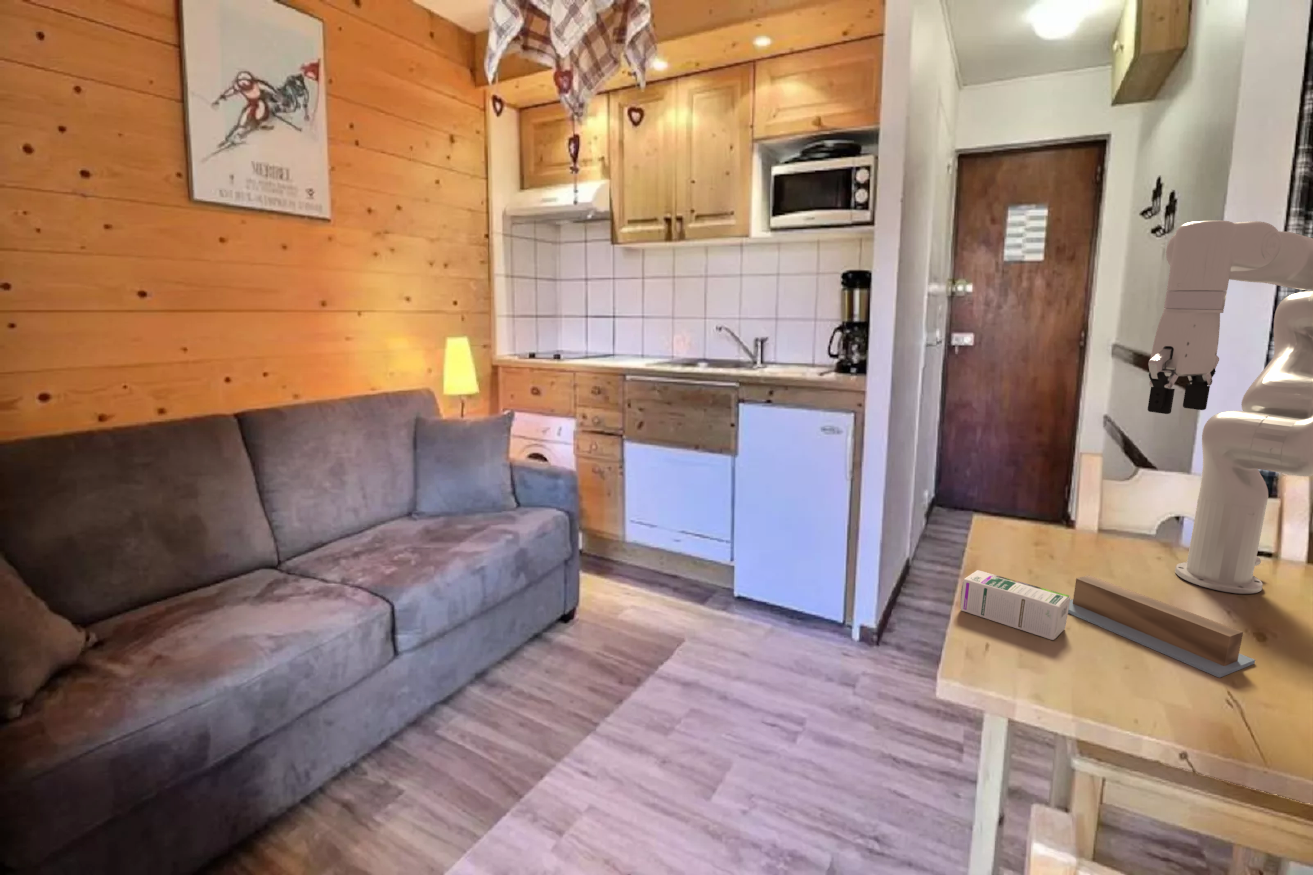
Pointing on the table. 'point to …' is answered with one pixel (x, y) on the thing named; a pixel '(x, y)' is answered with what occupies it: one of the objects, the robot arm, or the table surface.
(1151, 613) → the wooden beam
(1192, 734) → the table surface
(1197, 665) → the rubber mat
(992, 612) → the syrup box
